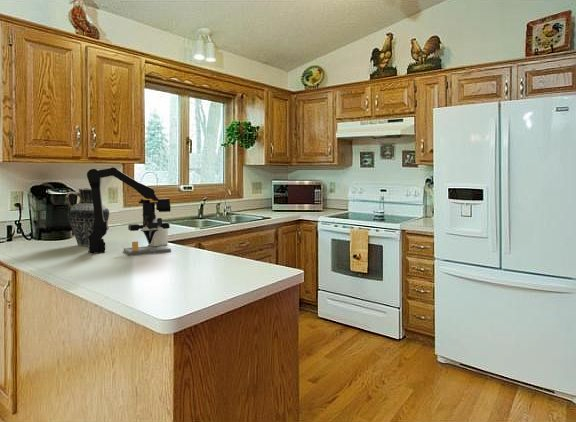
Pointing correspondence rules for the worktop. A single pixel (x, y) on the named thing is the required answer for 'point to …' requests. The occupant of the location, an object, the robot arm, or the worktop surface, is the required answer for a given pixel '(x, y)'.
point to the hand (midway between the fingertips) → (149, 243)
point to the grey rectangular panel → (147, 250)
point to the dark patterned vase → (83, 215)
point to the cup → (161, 236)
